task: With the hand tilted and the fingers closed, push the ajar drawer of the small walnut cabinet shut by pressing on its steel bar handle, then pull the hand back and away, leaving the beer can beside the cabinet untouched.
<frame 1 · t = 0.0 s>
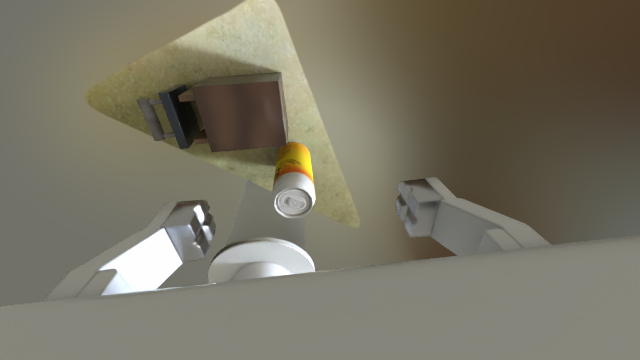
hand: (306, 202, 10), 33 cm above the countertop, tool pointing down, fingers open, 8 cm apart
drawer: (198, 114, 36), point 4 cm above the countertop, slide at 3.5 cm
cabinet: (251, 104, 40), on the countertop
beer can: (293, 155, 46), on the countertop
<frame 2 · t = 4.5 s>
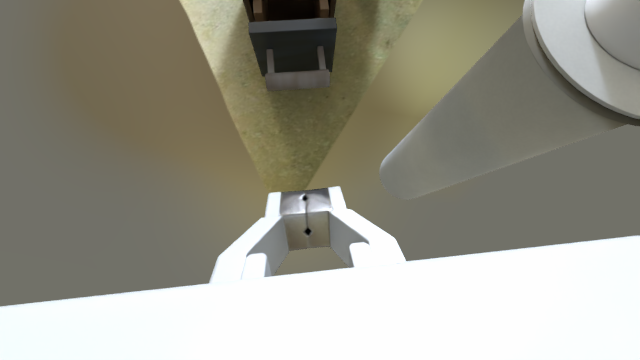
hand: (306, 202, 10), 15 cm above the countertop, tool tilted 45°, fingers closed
drawer: (293, 30, 25), point 4 cm above the countertop, slide at 3.5 cm
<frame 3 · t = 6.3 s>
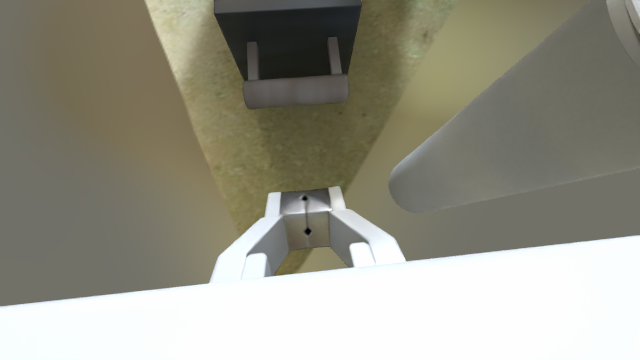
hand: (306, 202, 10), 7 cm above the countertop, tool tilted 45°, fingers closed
drawer: (290, 14, 17), point 4 cm above the countertop, slide at 3.5 cm
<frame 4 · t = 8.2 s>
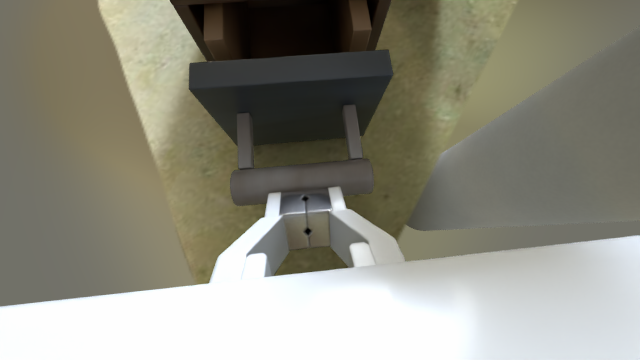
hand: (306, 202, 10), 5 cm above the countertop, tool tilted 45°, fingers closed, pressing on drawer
drawer: (293, 68, 13), point 4 cm above the countertop, slide at 2.5 cm, touching gripper
cabinet: (291, 30, 18), on the countertop
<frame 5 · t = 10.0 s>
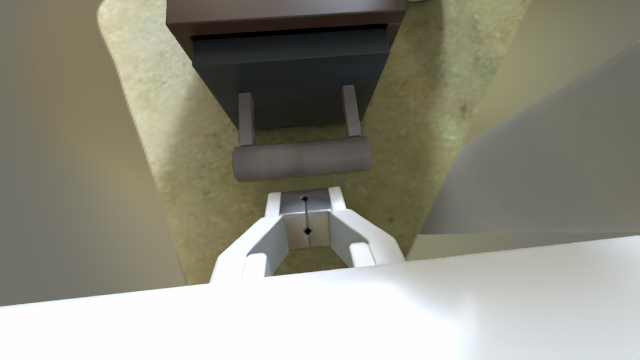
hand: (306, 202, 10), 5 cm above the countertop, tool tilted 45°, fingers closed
drawer: (293, 51, 13), point 4 cm above the countertop, slide at 0.0 cm, touching cabinet
cabinet: (293, 47, 18), on the countertop
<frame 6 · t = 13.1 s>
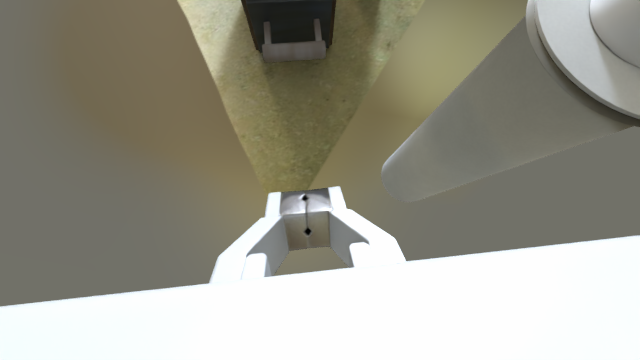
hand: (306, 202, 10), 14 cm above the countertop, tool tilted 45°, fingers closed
drawer: (290, 5, 26), point 4 cm above the countertop, slide at 0.0 cm, touching cabinet
cabinet: (290, 10, 30), on the countertop
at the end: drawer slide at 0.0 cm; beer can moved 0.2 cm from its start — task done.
